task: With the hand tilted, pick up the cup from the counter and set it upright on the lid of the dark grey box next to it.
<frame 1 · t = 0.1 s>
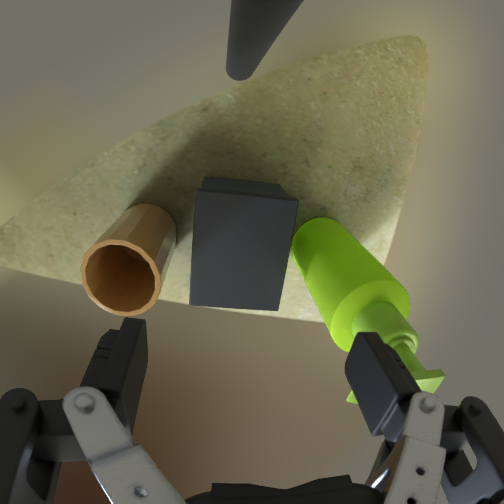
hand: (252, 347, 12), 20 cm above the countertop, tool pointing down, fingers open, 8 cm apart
cup: (146, 233, 30), on the countertop
dark grey box: (236, 226, 30), on the countertop
soap dispenser: (314, 243, 32), on the countertop
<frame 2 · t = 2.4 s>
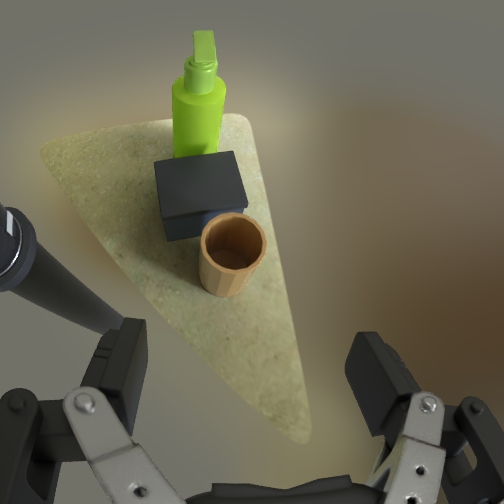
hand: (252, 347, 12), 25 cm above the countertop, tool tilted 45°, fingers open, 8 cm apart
cup: (224, 272, 38), on the countertop
dark grey box: (197, 211, 40), on the countertop
soap dispenser: (195, 161, 43), on the countertop
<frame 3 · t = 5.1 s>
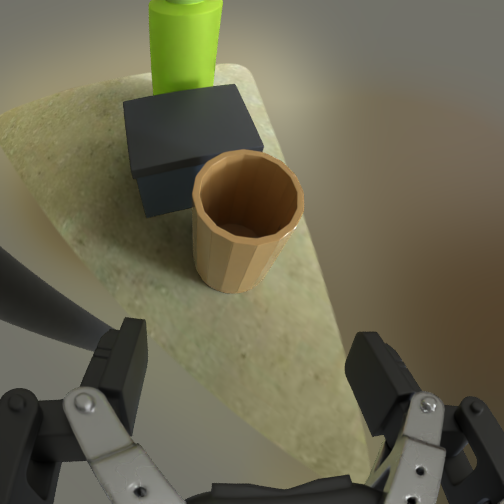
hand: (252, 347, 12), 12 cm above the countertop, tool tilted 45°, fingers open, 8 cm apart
cup: (231, 257, 26), on the countertop
dark grey box: (188, 174, 28), on the countertop
soap dispenser: (183, 115, 31), on the countertop
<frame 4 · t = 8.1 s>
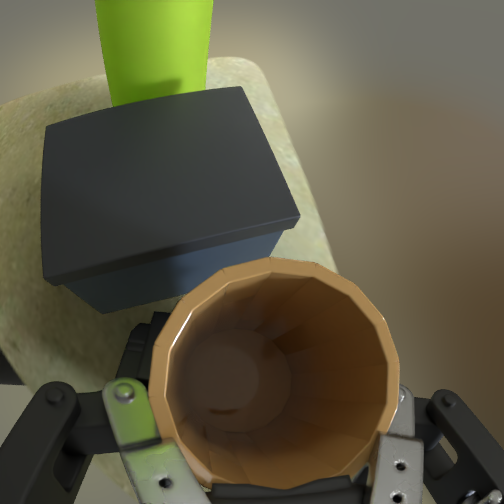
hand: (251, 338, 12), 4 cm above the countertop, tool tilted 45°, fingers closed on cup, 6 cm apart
cup: (237, 381, 15), on the countertop, touching gripper
dark grey box: (166, 237, 18), on the countertop
soap dispenser: (161, 134, 21), on the countertop
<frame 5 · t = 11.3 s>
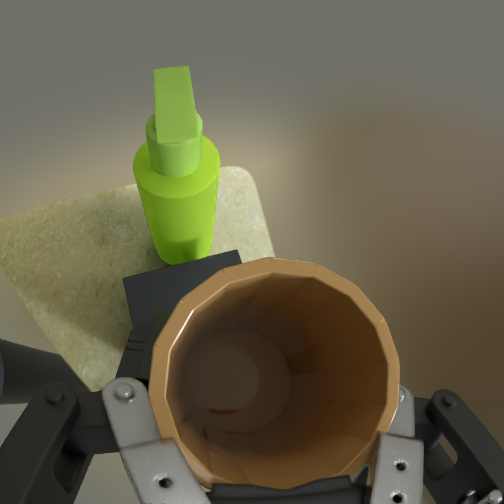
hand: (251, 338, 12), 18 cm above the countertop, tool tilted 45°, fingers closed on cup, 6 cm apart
cup: (237, 381, 15), point 14 cm above the countertop, touching gripper
dark grey box: (194, 323, 29), on the countertop
soap dispenser: (184, 246, 32), on the countertop
when the fingers open (11 cm above the countertop, at t = 14.7 s): cup stays where it is, resting on dark grey box.
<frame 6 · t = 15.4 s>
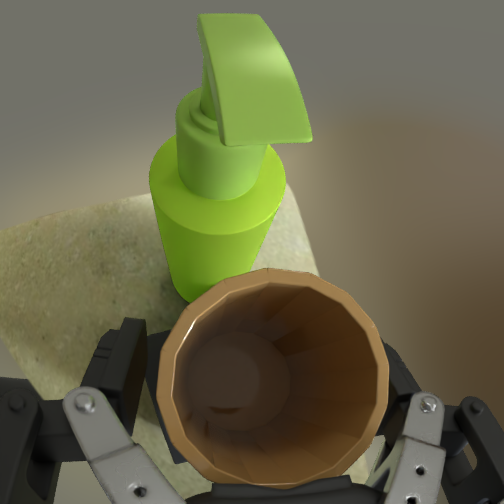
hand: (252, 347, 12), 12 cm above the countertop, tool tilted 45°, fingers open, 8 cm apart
cup: (238, 381, 16), point 7 cm above the countertop, touching dark grey box
dark grey box: (226, 379, 22), on the countertop
soap dispenser: (209, 278, 25), on the countertop
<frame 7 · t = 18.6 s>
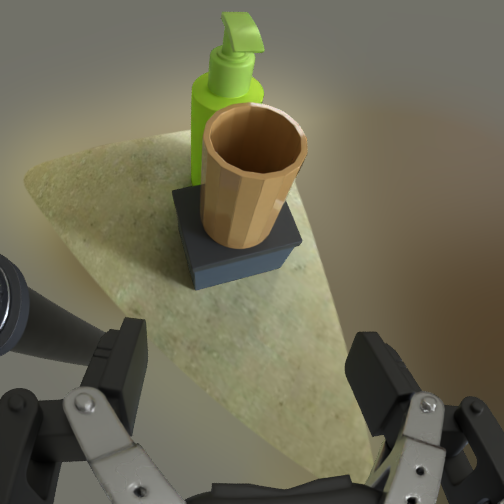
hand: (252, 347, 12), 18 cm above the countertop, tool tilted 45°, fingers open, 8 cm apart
cup: (237, 215, 26), point 7 cm above the countertop, touching dark grey box
dark grey box: (228, 248, 33), on the countertop
soap dispenser: (217, 183, 36), on the countertop
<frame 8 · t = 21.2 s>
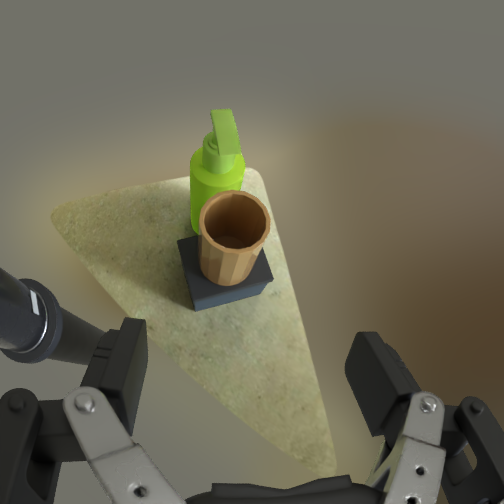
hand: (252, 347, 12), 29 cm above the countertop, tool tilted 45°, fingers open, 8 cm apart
cup: (225, 259, 36), point 7 cm above the countertop, touching dark grey box
dark grey box: (220, 278, 42), on the countertop
soap dispenser: (212, 224, 45), on the countertop
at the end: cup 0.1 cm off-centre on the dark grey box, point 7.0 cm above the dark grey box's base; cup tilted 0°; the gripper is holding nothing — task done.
